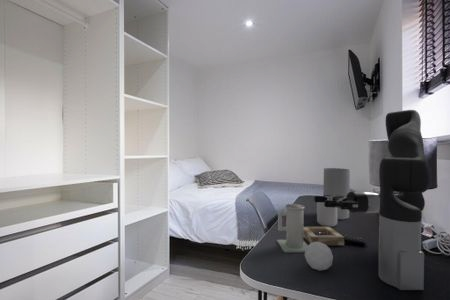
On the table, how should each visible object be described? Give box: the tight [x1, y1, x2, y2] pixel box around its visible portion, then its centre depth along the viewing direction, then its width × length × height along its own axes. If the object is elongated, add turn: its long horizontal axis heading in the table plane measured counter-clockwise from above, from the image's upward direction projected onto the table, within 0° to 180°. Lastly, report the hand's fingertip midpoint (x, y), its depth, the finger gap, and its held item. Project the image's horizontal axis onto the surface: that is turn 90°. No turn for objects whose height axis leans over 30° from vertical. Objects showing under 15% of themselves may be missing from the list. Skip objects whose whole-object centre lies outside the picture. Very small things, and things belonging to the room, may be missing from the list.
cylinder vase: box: [322, 167, 351, 220], centre depth 128 cm, size 12×12×25 cm
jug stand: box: [303, 226, 345, 246], centre depth 95 cm, size 12×12×3 cm
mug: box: [316, 199, 338, 228], centre depth 116 cm, size 12×9×11 cm
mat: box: [276, 239, 309, 254], centre depth 88 cm, size 10×10×1 cm
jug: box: [277, 203, 306, 248], centre depth 88 cm, size 7×9×14 cm
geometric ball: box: [304, 242, 334, 272], centre depth 72 cm, size 8×8×8 cm
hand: (319, 201), depth 88 cm, fingers open, 8 cm apart
